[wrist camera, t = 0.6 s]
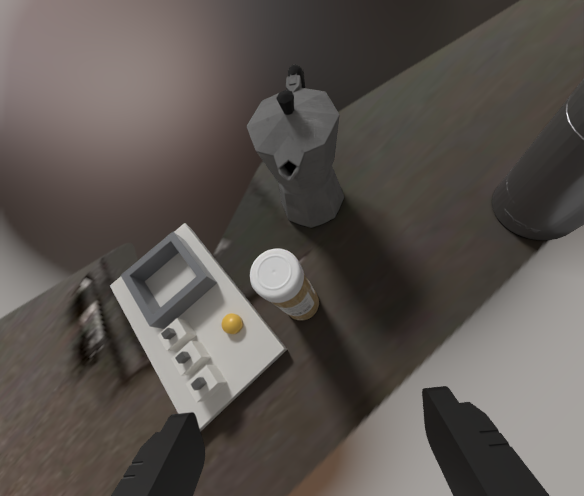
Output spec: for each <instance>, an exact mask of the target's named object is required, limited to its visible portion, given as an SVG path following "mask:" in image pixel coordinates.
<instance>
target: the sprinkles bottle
mask: <svg viewBox="0 0 584 496" xmlns="http://www.w3.org/2000/svg"><path fill="white" fill-rule="evenodd" d="M250 281H251V284H252V287H253V288H254V290H255V291H256V292H257V293H258V294H259V295H260V296H261V297H263V298H264V299H266V300H268V301H270V302H272V303H273V304H274V305H276V306H277V307H278V308H280V309H281V310H282V311H284V312H285V313H287V314H288V315H289V316H290V317H291V318H293V319H296V320H306V319H309V318H311V317H312V316H313V315H314V314H315V313H316V311H317V309H318V306H319V299H318V296H317V294H316V292H315V290H314V289H313V287H312V285H311V284H310V282H309V281H308V279H307V278H306V277H305V275H304V272H303V268H302V266H301V264H300V263H299V261H298V260H297V258H296V257H295V256H294V255H293V254H292V253H291V252H289V251H287V250H284V249H271V250H268V251H266V252H264V253H262V254H261V255H260V256H258V257H257V259H256V260H255V261H254V263H253V265H252V267H251V271H250Z"/></svg>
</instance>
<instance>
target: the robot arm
mask: <svg viewBox="0 0 584 496" xmlns="http://www.w3.org/2000/svg"><path fill="white" fill-rule="evenodd" d="M492 207H493V210H494V213H495V215H496V217H497V218H498V220H499V221H500V222H501V223H502V224H503V225H504V226H505V227H506V228H508V229H509V230H510V231H512V232H514V233H516V234H518V235H520V236H523V237H526V238H529V239H535V240H552V239H558V238H560V237H563V236H566V235H567V234H569V233H571V232H572V231H574V230H576V229H577V228H579V227H580V226H582V225H584V79H583V80H582V81H581V83H580V84H579V85H578V86H577V88H576V89H575V90H574V91H573V93H572V94H571V95H570V97H569V98H568V99H567V101H566V102H565V103H564V104H563V106H562V107H561V108H560V109H559V111H558V112H557V113H556V114H555V116H554V117H553V118H552V119H551V121H550V122H549V123H548V124H547V126H546V127H545V128H544V129H543V131H542V132H541V133H540V134H539V136H538V137H537V138H536V139H535V141H534V142H533V143H532V144H531V146H530V147H529V148H528V149H527V151H526V152H525V153H524V155H523V156H522V157H521V158H520V160H519V161H518V162H517V163H516V165H515V166H514V167H513V168H512V169H511V171H510V172H509V173H508V174H507V176H506V177H505V178H504V179H503V181H502V182H501V183H500V185H499V186H498V187H497V189H496V190H495V192H494V194H493V198H492ZM422 396H423V409H424V422H425V430H426V435H427V438H428V441H429V444H430V447H431V449H432V451H433V453H434V455H435V458H436V460H437V462H438V464H439V466H440V468H441V470H442V473H443V475H444V477H445V479H446V481H447V483H448V485H449V487H450V489H451V492H452V494H453V496H549V494H548V493H547V492H546V491H545V489H544V488H543V487H542V485H541V484H540V483H539V482H538V480H537V479H536V478H535V477H534V475H533V474H532V473H531V471H530V470H529V469H528V467H527V466H526V465H525V464H524V462H523V461H522V460H521V458H520V457H519V456H518V455H517V453H516V452H515V451H514V449H513V448H512V447H510V446H509V444H508V442H507V440H506V439H505V438H504V437H503V435H502V434H501V433H499V431H498V429H497V428H496V426H495V425H494V424H493V422H492V421H491V420H490V419H489V417H488V416H487V415H486V414H485V413H484V412H482V411H481V410H480V409H478V408H477V407H476V406H474V405H473V404H471V403H470V402H464V403H459V402H458V401H457V399H456V398H455V396H454V395H453V393H452V392H451V391H450V389H449V388H448V387H446V386H443V387H433V388H424V389H423V391H422ZM204 460H205V447H204V443H203V439H202V436H201V432H200V428H199V425H198V421H197V418H196V415H195V413H193V412H189V413H180V414H172V415H171V416H170V417H169V418H168V420H167V421H166V423H165V425H164V427H163V428H162V430H161V432H157V433H155V434H154V435H153V436H152V437H151V438H150V439H149V440H148V441H147V442H146V443H145V444H144V445H143V446H142V447H141V448H140V450H139V452H138V453H137V455H136V456H135V458H134V460H133V461H132V465H130V466H129V468H128V469H127V471H126V473H125V474H124V477H123V479H121V481H120V482H119V484H118V485H117V487H116V489H115V490H114V492H113V493H112V495H111V496H193V494H194V491H195V488H196V486H197V483H198V480H199V477H200V474H201V472H202V469H203V466H204Z"/></svg>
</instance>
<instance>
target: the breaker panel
mask: <svg viewBox="0 0 584 496" xmlns="http://www.w3.org/2000/svg"><path fill="white" fill-rule="evenodd" d="M110 287H111V289H112V290H113V292H114V294H115V296H116V298H117V300H118V302H119V304H120V305H121V307H122V309H123V311H124V313H125V315H126V317H127V318H128V320H129V322H130V324H131V326H132V328H133V330H134V332H135V333H136V335H137V337H138V339H139V341H140V343H141V345H142V346H143V348H144V350H145V352H146V354H147V356H148V358H149V359H150V361H151V363H152V365H153V367H154V369H155V371H156V373H157V374H158V376H159V378H160V380H161V382H162V384H163V386H164V387H165V389H166V391H167V393H168V395H169V397H170V399H171V401H172V402H173V404H174V406H175V408H176V410H177V412H178V414H180V413H189V412H193V413H195V415H196V418H197V421H198V425H199V428H200V432H201V431H202V430H203V429H204V428H205V427H206V426H207V425H208V424H209V423H210V422H211V421H212V420H213V419H214V418H215V417H216V416H218V415H219V414H220V413H221V412H222V411H223V410H224V409H225V408H226V407H227V406H228V405H229V404H230V403H231V402H232V401H233V400H234V399H235V398H237V397H238V396H239V395H240V394H241V393H242V392H243V391H244V390H245V389H246V388H247V387H248V386H249V385H250V384H251V383H252V382H253V381H255V380H256V379H257V378H258V377H259V376H260V375H261V374H262V373H263V372H264V371H265V370H266V369H267V368H268V367H269V366H270V365H271V364H272V363H274V362H275V361H276V360H277V359H278V358H279V357H280V356H281V355H282V354H283V353H284V352H285V351H286V350H287V348H286V347H285V346H284V345H283V343H282V342H281V341H280V340H279V338H278V337H277V336H276V335H275V333H274V332H273V331H272V330H271V328H270V327H269V326H268V325H267V323H266V322H265V321H264V320H263V318H262V317H261V316H260V315H259V313H258V312H257V311H256V310H255V308H254V307H253V306H252V305H251V303H250V302H249V301H248V300H247V298H246V297H245V296H244V294H243V293H242V292H241V291H240V289H239V288H238V287H237V286H236V284H235V283H234V282H233V281H232V279H231V278H230V277H229V276H228V274H227V273H226V272H225V271H224V269H223V268H222V267H221V266H220V264H219V263H218V262H217V261H216V259H215V258H214V257H213V256H212V254H211V253H210V252H209V251H208V249H207V248H206V247H205V246H204V244H203V243H202V242H201V241H200V239H199V238H198V237H197V236H196V234H195V233H194V232H193V231H192V230H191V228H190V227H189V226H188V225H186V224H185V223H184V224H183V225H182V226H181V227H179V228H178V229H177V230H176V231H175V232H172V233H171V234H169V235H168V236H167V237H166V238H165V239H163V240H162V241H161V242H160V243H159V244H157V245H156V246H155V247H154V248H153V249H152V250H150V251H149V252H148V253H147V254H146V255H144V256H143V257H142V258H141V259H140V260H138V261H137V262H136V263H135V264H134V265H132V266H131V267H130V268H129V269H128V270H126V271H125V272H124V273H123V274H122V275H121V277H120V278H119V279H117V280H116V281H115V282H114V283H113V284H111V285H110Z"/></svg>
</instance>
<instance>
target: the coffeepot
mask: <svg viewBox="0 0 584 496" xmlns="http://www.w3.org/2000/svg"><path fill="white" fill-rule="evenodd" d="M286 89H287V90H285V91H282V92H280V93H278V94H276V95H274V96H272V97H270V98H267V99H265V100H263V101H262V102H261V104H260V105H259V107H258V108H257V110H256V112H255V113H254V115H253V117H252V118H251V120H250V121H249V123H248V125H247V129H248V131H249V134H250V137H251V139H252V142H253V144H254V147H255V149H256V152H257V153H258V155H259V156H260V157H261V159H262V160H263V162H264V163H265V164H266V166H267V167H268V168H269V170H270V171H271V173H272V174H273V175H274V177H275V178H276V180H277V181H278V183H279V190H280V197H281V202H282V204H283V207H284V210H285V212H286V215H287V217H288V220H289V221H292V222H295V223H297V224H299V225H303V226H307V227H310V228H312V227H315V226H318V225H321V224H324V223H326V222H328V221H329V220H331V219H334V218H335V217H336V214H337V212H338V211H339V209H340V206H341V203H342V201H343V199H344V195H343V192H342V190H341V187H340V184H339V182H338V179H337V177H336V174H335V172H334V169H333V167H332V164H333V162H334V158H335V149H336V140H337V131H338V123H339V113H338V112H337V110H336V108H335V107H334V105H333V103H332V102H331V100H330V99H329V97H328V95H327V94H326V92H324V91H318V90H311V89H305V82H304V72H303V71H302V69H301V68H300V66H298V65H296V64H295V65H292V66H291V67H290V68H289V70H288V77H287V81H286Z"/></svg>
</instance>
